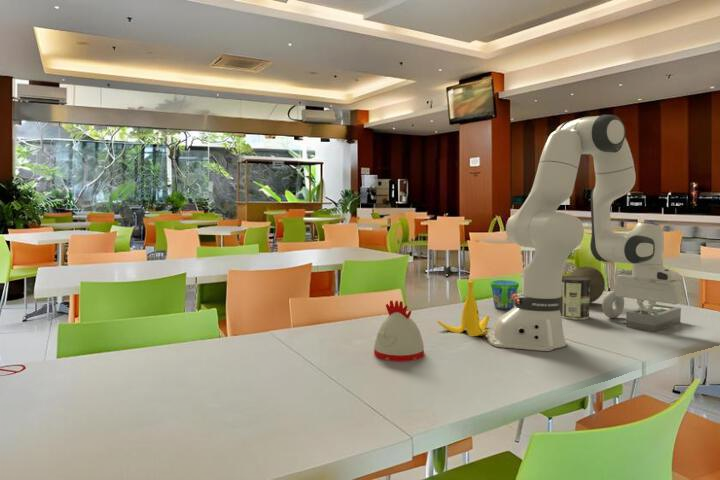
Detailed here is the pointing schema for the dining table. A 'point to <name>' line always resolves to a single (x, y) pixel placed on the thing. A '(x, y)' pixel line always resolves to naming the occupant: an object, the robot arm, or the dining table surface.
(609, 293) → the donut
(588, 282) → the coffee can
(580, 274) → the coconut
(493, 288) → the snack cup
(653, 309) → the key mid
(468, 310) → the banana peel
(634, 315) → the keypad
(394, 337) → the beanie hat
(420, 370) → the dining table surface
